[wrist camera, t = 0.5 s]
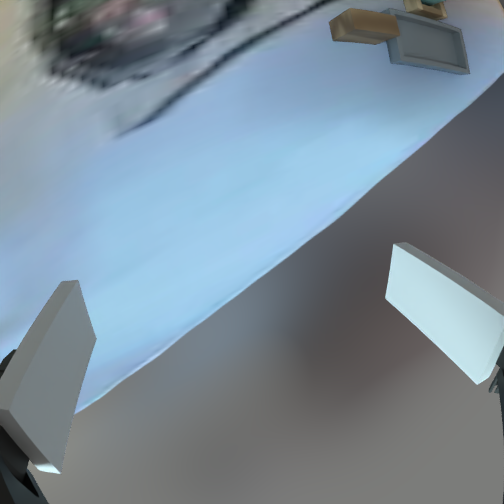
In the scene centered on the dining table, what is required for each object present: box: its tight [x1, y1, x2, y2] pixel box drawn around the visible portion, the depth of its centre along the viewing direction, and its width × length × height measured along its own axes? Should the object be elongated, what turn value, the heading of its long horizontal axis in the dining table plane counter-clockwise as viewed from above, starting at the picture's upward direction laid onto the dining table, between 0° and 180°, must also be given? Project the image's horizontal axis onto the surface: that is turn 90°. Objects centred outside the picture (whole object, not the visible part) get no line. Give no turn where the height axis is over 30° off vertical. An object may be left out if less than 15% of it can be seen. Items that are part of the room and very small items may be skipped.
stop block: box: [329, 8, 400, 45], centre depth 30 cm, size 3×7×6 cm, turn 98°
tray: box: [380, 8, 470, 75], centre depth 33 cm, size 9×17×2 cm, turn 99°
